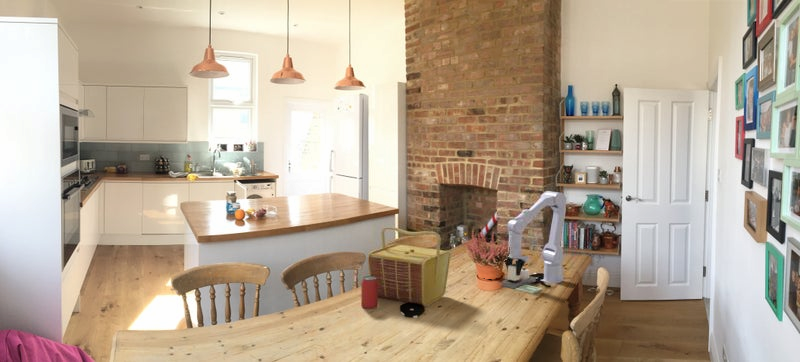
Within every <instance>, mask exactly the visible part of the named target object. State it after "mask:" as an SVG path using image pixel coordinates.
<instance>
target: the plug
mask: <svg viewBox="0 0 800 362" xmlns="http://www.w3.org/2000/svg"><path fill="white" fill-rule="evenodd" d="M507 279H509V280H514V281H516V280H519V279H520V275H518V276H517V275H516V263H512V265H509V266H508V271H507Z"/></svg>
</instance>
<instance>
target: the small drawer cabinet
mask: <svg viewBox="0 0 800 362" xmlns="http://www.w3.org/2000/svg"><path fill="white" fill-rule="evenodd" d="M501 281H502V286H501V287H505V288H509V289H514V290H516V288H518V287H520V286H523V285H531V284H534V283H536V281H537V278H536V277H534V276H530V275H529V279H527V280H524V279H522V278H520V279H519V280H516V281H514V280H509V279H508V278H507V279H504V280H501Z"/></svg>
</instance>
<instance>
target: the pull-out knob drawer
mask: <svg viewBox="0 0 800 362" xmlns="http://www.w3.org/2000/svg"><path fill="white" fill-rule="evenodd" d="M530 273H531V272H530V269H526V267H522V269H521V273H520V278H522V279H524V280H527V279H529V276H530Z"/></svg>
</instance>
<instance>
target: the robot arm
mask: <svg viewBox="0 0 800 362" xmlns="http://www.w3.org/2000/svg"><path fill="white" fill-rule="evenodd" d="M566 202H567V196H566V195H565V194H564V193H563V192H557V191H550V190H546V191H544V192H543V193H542V194H541V195H540V198H539V199H538V200H537V201H536V202H535V203H534V204H533V205H532V206H530V208H529V209H523V210H522V211H521V212H520V213H519V215H518V216H516V217H514V219H511V220H509V221H508V223H507V225H506V229H507V231H508V248H509V247H510V254H509V256H508V259H507V260H505V261H504V260H503V262H504V264H505V267H506V271H507V272H508V266H509V265H512V264H513V261H514V260H515V263H514V264H516V275H517V276H518V275H520V273H521V269H522V268H524V265H525V264H526V262H527V263H528V262H530V256H526V255H523V254H522V237H523V236H522V233H523V232H524V231H525V229H526V227H527V225H528V224H529V223H530V222H532V221H533V220H534V218H535V215H537V214H538V213H539V212H540V211H542V210H543V209H544V208H545V207H550V208H551V210H553V215H552V219H551V220H552V221H551V225H550V226H551V227H550V232H549V236H548V237H549V238H548V242H547V243H546V244H545V245H544V247H543V250H542V252H541V258H542V260H543V263H544V265H543V266H544V268H543V270H544V271H543V272H544V273H543V279H540V281H542V282H546V283H551V284H554V285H555V284H559V283H561V282H564V281H565V279H563V272H564V269H563V267H564V266H563V265H562V263H563V262H564V259H565V258H564V257H565V255H564V249H563V247H562V246H561V242H562V237H563V236H562V235H563V230H564V225H565V224H564V223H565V217H566V213H567V205H566V204H567V203H566Z"/></svg>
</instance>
